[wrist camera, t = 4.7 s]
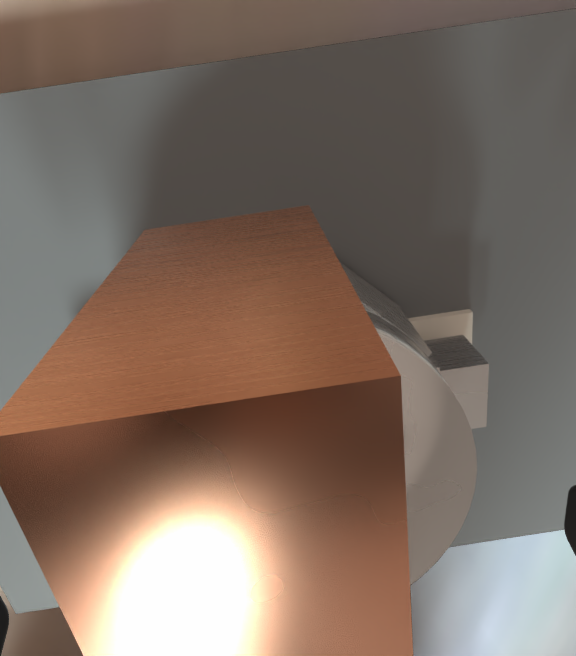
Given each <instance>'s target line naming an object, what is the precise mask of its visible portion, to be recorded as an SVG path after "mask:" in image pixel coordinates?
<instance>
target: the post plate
mask: <svg viewBox="0 0 576 656" xmlns="http://www.w3.org/2000/svg"><path fill="white" fill-rule="evenodd" d="M307 205H309V206H310V208H311V210H312V212H313V214H314V216H315V218H316V219H317V221H318V223H319V225H320V227H321V229H322V230H323V232H324V234H325V236H326V238H327V240H328V242H329V243H330V245H331V247H332V249H333V251H334V253H335V255H336V256H337V258H338V260H339V261H340V262H341V263H343V264H344V265H345V266H347V267H348V268H349V269H351V270H352V271H353V272H355V273H356V274H357V275H359V276H360V277H361V278H363V279H364V280H365V281H367V282H368V283H369V284H371V285H372V286H373V287H375V288H376V289H377V290H379V291H380V292H381V293H383V294H384V295H385V296H387V297H388V298H389V299H391V300H392V301H393V302H395V303H396V304H397V305H399V307H400V308H401V310H402V311H403V312H404V314H405V315H406V317H407V318H408V319H409V321H410V322H411V324H412V325H413V326H414V328H415V329H416V331H417V332H418V333H419V335H420V336H421V338H422V339H423V340H431V339H437V338H444V337H451V336H457V335H464V336H465V337H466V339H467V340H468V341H469V342H470V343H471V344H472V345H473V346H474V347H475V349H476V350H477V351H478V352H479V353H480V354H481V355H482V356H483V358H484V359H485V360H486V361H487V362H488V363H489V376H488V399H487V423H486V427H481V428H475V429H471V430H472V434H473V439H474V443H475V448H476V459H477V475H476V484H475V491H474V495H473V498H472V502H471V505H470V509H469V512H468V514H467V516H466V518H465V520H464V523H463V525H462V527H461V529H460V531H459V532H458V534H457V536H456V537H455V539H454V540H453V542H452V544H451V545H450V547H454V546H460V545H467V544H473V543H480V542H486V541H493V540H499V539H506V538H512V537H519V536H525V535H532V534H538V533H545V532H551V531H558V530H564V520H565V512H566V505H567V498H568V492H569V489H570V488H571V487H572V486H574V485H576V8H575V9H568V10H562V11H555V12H548V13H541V14H535V15H528V16H521V17H514V18H508V19H501V20H494V21H487V22H481V23H474V24H467V25H460V26H454V27H447V28H440V29H433V30H427V31H420V32H413V33H406V34H400V35H393V36H386V37H379V38H373V39H366V40H359V41H352V42H346V43H339V44H332V45H325V46H319V47H312V48H305V49H298V50H292V51H285V52H278V53H272V54H265V55H258V56H251V57H245V58H238V59H231V60H224V61H218V62H211V63H204V64H197V65H191V66H184V67H177V68H170V69H164V70H157V71H150V72H143V73H137V74H130V75H123V76H116V77H110V78H103V79H96V80H89V81H83V82H76V83H69V84H62V85H56V86H49V87H42V88H35V89H29V90H22V91H15V92H8V93H2V94H0V411H1V409H2V408H3V407H4V406H5V404H6V403H7V402H8V401H9V399H10V398H11V397H12V396H13V394H14V393H15V392H16V391H17V389H18V388H19V387H20V385H21V384H22V383H23V382H24V380H25V379H26V378H27V377H28V375H29V374H30V373H31V372H32V370H33V369H34V368H35V367H36V365H37V364H38V363H39V362H40V360H41V359H42V358H43V357H44V355H45V354H46V353H47V352H48V350H49V349H50V348H51V347H52V345H53V344H54V343H55V342H56V340H57V339H58V338H59V337H60V335H61V334H62V333H63V332H64V330H65V329H66V328H67V327H68V325H69V324H70V323H71V322H72V320H73V319H74V318H75V317H76V315H77V314H78V313H79V312H80V310H81V309H82V308H83V306H84V305H85V304H86V303H87V301H88V300H89V299H90V298H91V296H92V295H93V294H94V293H95V291H96V290H97V289H98V288H99V286H100V285H101V284H102V283H103V281H104V280H105V279H106V278H107V276H108V275H109V274H110V273H111V271H112V270H113V269H114V268H115V266H116V265H117V264H118V263H119V261H120V260H121V259H122V258H123V256H124V255H125V254H126V253H127V251H128V250H129V249H130V248H131V246H132V245H133V244H134V243H135V241H136V240H137V239H138V238H139V236H140V235H141V234H142V233H143V231H144V230H146V229H152V228H159V227H166V226H172V225H179V224H186V223H193V222H199V221H206V220H213V219H219V218H226V217H233V216H240V215H246V214H253V213H260V212H266V211H273V210H280V209H286V208H293V207H300V206H307ZM0 586H1V588H2V590H3V591H4V593H5V595H6V597H7V599H8V600H9V602H10V604H11V606H12V608H13V609H14V611H15V613H16V614H18V613H25V612H31V611H38V610H44V609H51V608H57V607H59V605H58V603H57V601H56V599H55V597H54V595H53V593H52V590H51V588H50V586H49V584H48V582H47V580H46V578H45V576H44V574H43V572H42V570H41V568H40V566H39V564H38V562H37V560H36V558H35V556H34V554H33V552H32V550H31V548H30V546H29V544H28V542H27V540H26V538H25V535H24V533H23V531H22V529H21V527H20V525H19V523H18V521H17V519H16V517H15V515H14V513H13V511H12V509H11V507H10V505H9V503H8V501H7V499H6V497H5V495H4V493H3V491H2V489H1V487H0Z"/></svg>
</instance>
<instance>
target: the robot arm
mask: <svg viewBox="0 0 576 656" xmlns="http://www.w3.org/2000/svg"><path fill="white" fill-rule="evenodd" d="M564 529H565V534H566V537H567V539H568V542H569V544H570V546H571V548H572V550H573V552H574V554H575V556H576V485H574V486H572V487H571V488H570V489H569V492H568V498H567V505H566V512H565V520H564ZM8 625H9V614H8V609H7V607H6V605H5V603H4V602H3V600H2V598H1V596H0V656H1V653H2V650H3V646H4V642H5V638H6V634H7V630H8Z"/></svg>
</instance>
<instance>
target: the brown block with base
mask: <svg viewBox="0 0 576 656" xmlns="http://www.w3.org/2000/svg"><path fill="white" fill-rule="evenodd" d="M488 376H489V363H488V362H487V361H486V360H485V359H484V358H483V356H482V355H481V354H480V353H479V352H478V351H477V350H476V349H475V347H474V346H473V345H472V344H471V343H470V342H469V341H468V340H467V339H466V337H465V336H464V335H457V336H451V337H444V338H437V339H431V340H423V339H422V338H421V336H420V335H419V333H418V332H417V331H416V329H415V328H414V326H413V325H412V324H411V322H410V321H409V319H408V318H407V317H406V315H405V314H404V312H403V311H402V310H401V308H400V307H399V305H397V304H396V303H395V302H393V301H392V300H391V299H389V298H388V297H387V296H385V295H384V294H383V293H381V292H380V291H379V290H377V289H376V288H375V287H373V286H372V285H371V284H369V283H368V282H367V281H365V280H364V279H363V278H361V277H360V276H359V275H357V274H356V273H355V272H353V271H352V270H351V269H349V268H348V267H347V266H345V265H344V264H343V263H341V262H340V261H339V260H338V258H337V256H336V255H335V253H334V251H333V249H332V247H331V245H330V243H329V242H328V240H327V238H326V236H325V234H324V232H323V230H322V229H321V227H320V225H319V223H318V221H317V219H316V218H315V216H314V214H313V212H312V210H311V208H310V206H309V205H307V206H300V207H293V208H286V209H280V210H273V211H266V212H260V213H253V214H246V215H240V216H233V217H226V218H219V219H213V220H206V221H199V222H193V223H186V224H179V225H172V226H166V227H159V228H152V229H146V230H144V231H143V233H142V234H141V235H140V236H139V238H138V239H137V240H136V241H135V243H134V244H133V245H132V246H131V248H130V249H129V250H128V251H127V253H126V254H125V255H124V256H123V258H122V259H121V260H120V261H119V263H118V264H117V265H116V266H115V268H114V269H113V270H112V271H111V273H110V274H109V275H108V276H107V278H106V279H105V280H104V281H103V283H102V284H101V285H100V286H99V288H98V289H97V290H96V291H95V293H94V294H93V295H92V296H91V298H90V299H89V300H88V301H87V303H86V304H85V305H84V306H83V308H82V309H81V310H80V312H79V313H78V314H77V315H76V317H75V318H74V319H73V320H72V322H71V323H70V324H69V325H68V327H67V328H66V329H65V330H64V332H63V333H62V334H61V335H60V337H59V338H58V339H57V340H56V342H55V343H54V344H53V345H52V347H51V348H50V349H49V350H48V352H47V353H46V354H45V355H44V357H43V358H42V359H41V360H40V362H39V363H38V364H37V365H36V367H35V368H34V369H33V370H32V372H31V373H30V374H29V375H28V377H27V378H26V379H25V380H24V382H23V383H22V384H21V385H20V387H19V388H18V389H17V391H16V392H15V393H14V394H13V396H12V397H11V398H10V399H9V401H8V402H7V403H6V404H5V406H4V407H3V408H2V409H1V411H0V487H1V489H2V491H3V493H4V495H5V497H6V499H7V501H8V503H9V505H10V507H11V509H12V511H13V513H14V515H15V517H16V519H17V521H18V523H19V525H20V527H21V529H22V531H23V533H24V535H25V538H26V540H27V542H28V544H29V546H30V548H31V550H32V552H33V554H34V556H35V558H36V560H37V562H38V564H39V566H40V568H41V570H42V572H43V574H44V576H45V578H46V580H47V582H48V584H49V586H50V588H51V590H52V593H53V595H54V597H55V599H56V601H57V603H58V605H59V607H60V609H61V611H62V613H63V615H64V617H65V619H66V621H67V623H68V625H69V627H70V629H71V631H72V633H73V635H74V637H75V639H76V641H77V643H78V645H79V647H80V650H81V652H82V654H83V656H413V641H412V618H411V595H410V585H412V584H413V583H414V582H415V581H417V580H418V579H419V578H421V577H422V576H423V575H424V574H425V573H426V572H427V571H428V570H429V569H430V568H431V567H432V566H433V565H434V564H435V563H436V562H437V561H438V560H439V559H440V558H441V556H442V555H443V554H444V553H445V551H446V550H447V549H448V548H449V547H450V545H451V544H452V542H453V540H454V539H455V537H456V536H457V534H458V532H459V531H460V529H461V527H462V525H463V523H464V520H465V518H466V516H467V514H468V512H469V509H470V505H471V502H472V498H473V495H474V491H475V484H476V475H477V459H476V448H475V443H474V439H473V434H472V430H471V429H475V428H481V427H486V423H487V399H488Z"/></svg>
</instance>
